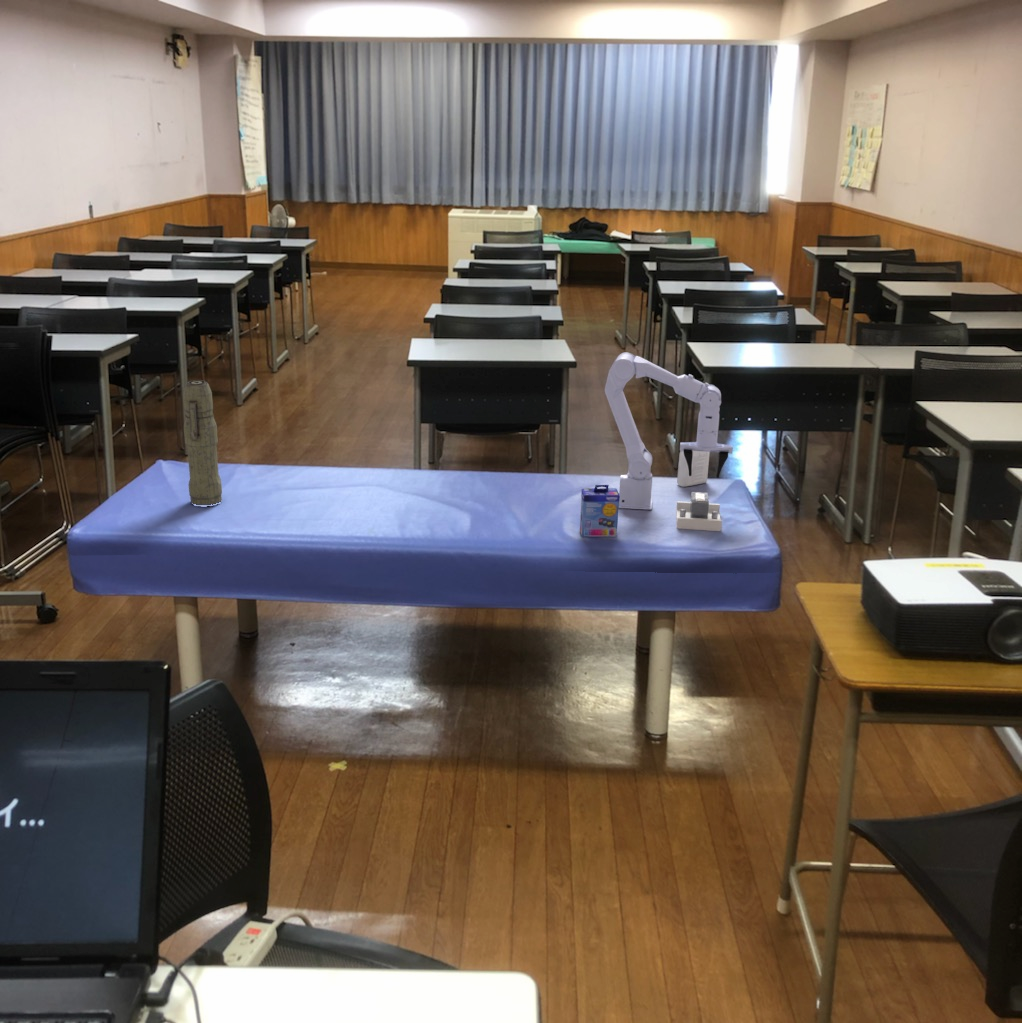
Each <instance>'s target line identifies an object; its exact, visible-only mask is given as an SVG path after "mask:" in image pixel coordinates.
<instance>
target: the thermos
mask: <svg viewBox="0 0 1022 1023" xmlns="http://www.w3.org/2000/svg"><path fill="white" fill-rule="evenodd" d="M182 395H183V405H184V407H183V408H184V411H185V415H184V417H185V418H184V424H183V434H184V435H183V436H184V444H185V446H186V448H187V460H188V470H189V481H188V492H189V493H188V494H189V497H190V503H191V502H192V503H193V504H196V505H211V504H212V505H213V504H216V503H219V502H221V500H222V501H223V497H222V494H223V490H222V489H223V487H222V485H223V484H222V481H221V480H222V479H221V477H220V474H219V463H218V449H217V445H218V442H219V439H218V426H217V422H216V420H215V417H214V415H215V414H214V413H213V412H214V411H213V410H214V404H213V403H214V402H213V392H212V389H211V387H210V384H209V383H208V382H207V381H205V380H201V379H198V380H197V379H196V380H195V379H194V380H190V381H188V382H186V383H185V384H184V388H183V391H182Z"/></svg>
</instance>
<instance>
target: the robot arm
mask: <svg viewBox="0 0 1022 1023" xmlns="http://www.w3.org/2000/svg"><path fill="white" fill-rule="evenodd" d="M634 375H635V379H641V378H644V377H647V378H650V379H652V380H654V381H655V380H656V381H657V382H660V383H662V384H665V385H667V386H670V387H672V388H673V390H674V392H675V394H676V395H679V396H680V397H683V398H685V399H687V400H689V401H692V402H694V403H698V404H699V406H700V407H699V412H698V419H697V430H696V431H697V432H696V441H690V442H689V441H688V442H680V444H679V451H684V456H685V459H686V461H687V465H688V469H689V476H691V475H692V457H693V451H705V452H710V453H718V455H717V456H718V457H717V465H716V466H717V467H716V471H715V477H716V478H717V479H719V478H720V475H721V471H722V469H723V467H724V465H725V463H726V462H727V460H728V459H729V455H732V454H733V451H734V450H733V449H734V447H733V446H734V445H732V444H724V443H718V435H719V427H720V408H721V407H720V406H721V404H722V393H721V390H720V389H719V388H718V387H717V386H715V385H714V384H709V383H708V382H705V383H704V382H702V381H700V380H697V379H695V378H694V375H692V374H690V373H689V374H688V375H687V374H681V375H677V374H674V373H672V372H670V371H668V370H667V369H665V368H663V367H661V366H659V365H657V364H655V363H653V362H651V361H649V360H647V359H646V358H644V357H642V356H639V355H634V354H633V353H630V352H622V353H620V354H619V355H618V356H617V357H616V358H615V359H614V361H613V363H612V364H611V366H610V369H608V374H607V378H606V382H605V386H604V394H605V396H606V399H607V401H608V404H609V407H610V410H611V413H612V415H613V418H614V421H615V423H616V426H617V428H618V431H619V434H620V436H621V439H622V442H623V445H624V447H625V451H626V453H625V454H626V458H627V461H628V469H627V470H628V472H627V474H620V478H619V479H620V480H619V490H618V493H619V495H620V499H619V509H629V510H630V509H631V510H643V511H644V510H649V511H651V510H652V508H653V499H652V489H653V477H654V476H653V473H652V472H651V469H652V468H651V466H652V465H653V462H654V461H653V460H654V459H653V454H652V453H651V452H649V450H648V449H647V448H646V446H645V444H644V442H643V441H642V438H641V436H640V433H639V430H638V427H637V425H636V423H635V420H634V418H633V415H632V412H631V409H630V407H629V404H628V401H627V399H626V396H625V392H624V391H623V390H624V389H625V386H626V384H627V383H628V382H629V381H630V380H631V379H632V378H634Z"/></svg>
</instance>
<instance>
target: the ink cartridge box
mask: <svg viewBox="0 0 1022 1023" xmlns="http://www.w3.org/2000/svg"><path fill="white" fill-rule="evenodd" d="M580 497H581V499H580V500H581V501H580V519H579V520H580V521H579V531H580V536H581V538H592V537H593V538H600V537H601V538H605V537H609V538H616V537H617V536H618V526H619V525H618V524H619V523H618V522H619V521H618V520H619V509H620V508H619V499H620V495H619V490H618V488H613V487H610V488H609V484H595V486H594V487H592V488H590V487H589V488H581V495H580Z"/></svg>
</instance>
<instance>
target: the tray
mask: <svg viewBox="0 0 1022 1023" xmlns="http://www.w3.org/2000/svg"><path fill="white" fill-rule="evenodd" d="M690 504H691V501H681V500H680V501H679V500H677V501H676V510H675V511H676V514H675V515H676V529H678V530H679V529H680V530H696V531H708V532H709V531H710V532H722V525H723V520H722V519H721V516H720V514H721V513H720V508H721V504H720V503H711V502H709V508H708V519H702V518H690Z"/></svg>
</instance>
